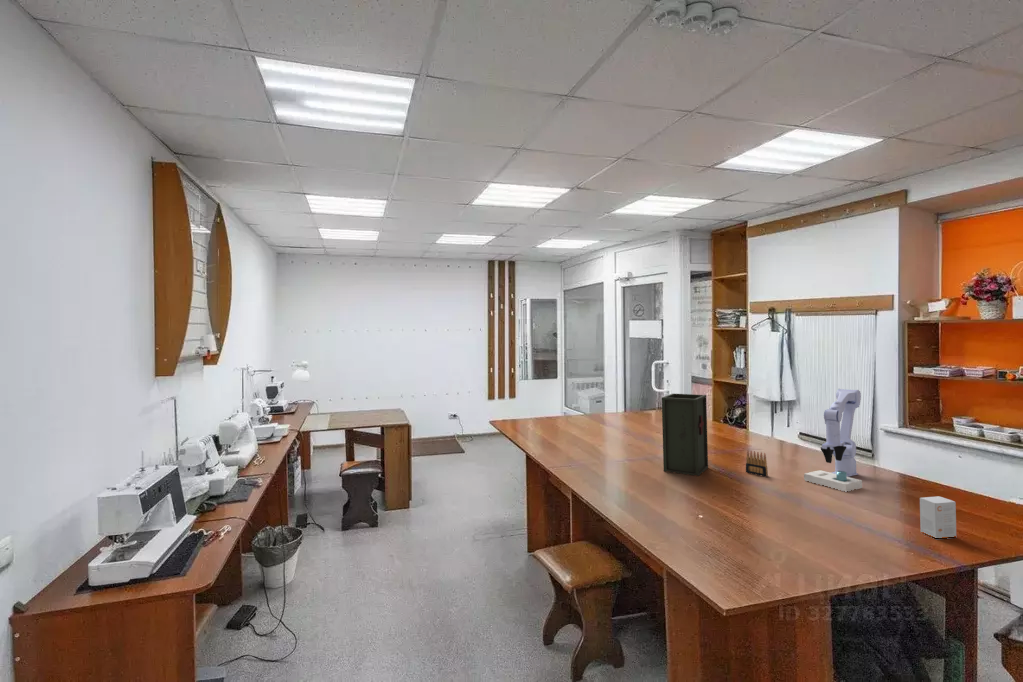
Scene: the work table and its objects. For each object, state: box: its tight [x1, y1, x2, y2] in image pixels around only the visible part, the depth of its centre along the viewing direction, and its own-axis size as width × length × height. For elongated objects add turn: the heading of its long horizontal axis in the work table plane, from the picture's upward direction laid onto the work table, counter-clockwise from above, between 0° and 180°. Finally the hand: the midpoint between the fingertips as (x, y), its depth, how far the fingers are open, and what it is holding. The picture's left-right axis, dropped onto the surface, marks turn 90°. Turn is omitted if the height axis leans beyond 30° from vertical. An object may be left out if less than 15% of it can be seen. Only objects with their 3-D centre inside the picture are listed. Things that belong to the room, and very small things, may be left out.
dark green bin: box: [661, 393, 709, 477], centre depth 270 cm, size 18×18×40 cm
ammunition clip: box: [745, 449, 769, 477], centre depth 258 cm, size 11×2×12 cm, turn 37°
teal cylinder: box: [836, 471, 847, 482], centre depth 234 cm, size 4×4×7 cm
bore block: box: [803, 469, 863, 493], centre depth 238 cm, size 12×20×4 cm, turn 24°
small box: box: [919, 495, 957, 538], centre depth 178 cm, size 8×6×13 cm
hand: (833, 461), depth 243 cm, fingers open, 7 cm apart
